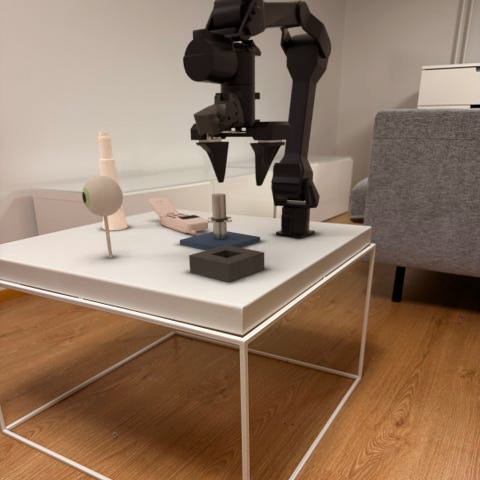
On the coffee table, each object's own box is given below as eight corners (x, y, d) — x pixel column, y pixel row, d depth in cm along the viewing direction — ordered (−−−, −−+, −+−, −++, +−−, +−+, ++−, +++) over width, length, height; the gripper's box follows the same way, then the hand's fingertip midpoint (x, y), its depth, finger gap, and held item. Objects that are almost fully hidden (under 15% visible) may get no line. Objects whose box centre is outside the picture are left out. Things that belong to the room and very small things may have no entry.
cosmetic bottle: (120, 230, 112) (109, 132, 103) (98, 230, 113) (84, 132, 105) (131, 225, 117) (121, 131, 109) (110, 225, 119) (98, 132, 110)
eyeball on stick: (85, 256, 90) (73, 176, 84) (120, 250, 94) (110, 173, 88) (100, 264, 85) (88, 178, 79) (136, 257, 89) (127, 175, 83)
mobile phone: (166, 195, 124) (213, 206, 104) (168, 218, 126) (215, 233, 107) (145, 198, 121) (189, 210, 101) (147, 221, 123) (191, 237, 104)
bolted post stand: (219, 233, 102) (218, 191, 98) (240, 237, 98) (239, 193, 95) (200, 239, 98) (197, 194, 94) (220, 243, 94) (219, 197, 90)
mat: (219, 234, 106) (219, 229, 106) (260, 241, 99) (260, 236, 98) (179, 244, 98) (179, 239, 97) (221, 253, 90) (221, 248, 90)
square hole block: (226, 260, 85) (225, 244, 84) (264, 269, 80) (264, 252, 79) (189, 272, 79) (188, 255, 78) (229, 282, 74) (228, 264, 72)
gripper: (163, 87, 77) (170, 185, 83) (247, 78, 65) (248, 192, 71) (211, 90, 85) (214, 179, 91) (294, 82, 73) (292, 185, 79)
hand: (239, 184), depth 83 cm, fingers open, 9 cm apart
